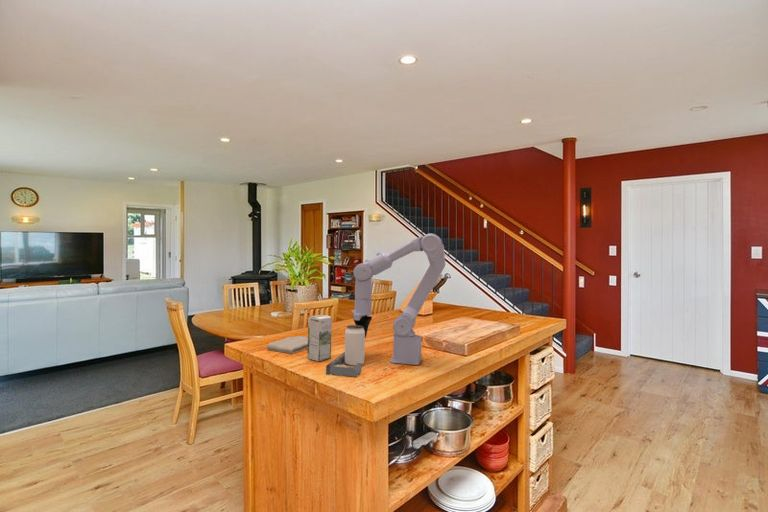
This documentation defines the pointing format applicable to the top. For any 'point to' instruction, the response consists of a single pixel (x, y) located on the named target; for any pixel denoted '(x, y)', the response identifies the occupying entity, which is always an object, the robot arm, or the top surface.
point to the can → (354, 345)
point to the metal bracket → (343, 367)
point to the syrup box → (319, 337)
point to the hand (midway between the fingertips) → (362, 337)
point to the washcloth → (289, 344)
